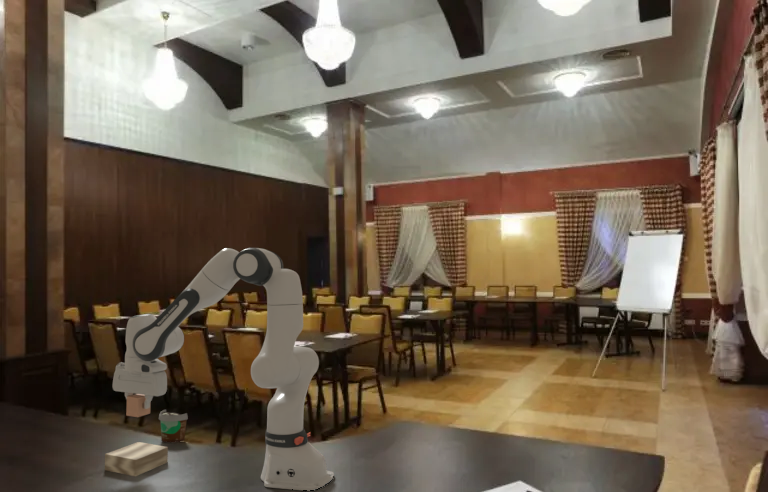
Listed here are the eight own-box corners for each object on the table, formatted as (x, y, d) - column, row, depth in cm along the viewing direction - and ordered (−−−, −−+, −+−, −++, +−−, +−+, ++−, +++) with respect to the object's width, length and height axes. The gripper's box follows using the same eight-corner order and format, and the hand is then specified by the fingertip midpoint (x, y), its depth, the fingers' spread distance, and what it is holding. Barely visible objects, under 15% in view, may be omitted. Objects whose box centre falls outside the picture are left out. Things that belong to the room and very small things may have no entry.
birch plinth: (167, 462, 176) (167, 447, 176) (135, 476, 164) (135, 459, 164) (137, 456, 180) (138, 441, 181) (104, 470, 168) (105, 453, 169)
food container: (150, 440, 198) (151, 413, 199) (164, 435, 204) (165, 409, 204) (173, 445, 192) (174, 417, 193) (187, 440, 198) (188, 413, 198)
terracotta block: (150, 413, 174) (150, 394, 174) (137, 417, 170) (138, 398, 170) (138, 411, 176) (139, 393, 176) (126, 415, 171) (126, 396, 172)
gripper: (108, 363, 175) (106, 406, 174) (155, 368, 167) (154, 413, 166) (124, 360, 180) (123, 401, 180) (170, 364, 173) (169, 408, 172)
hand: (138, 407), depth 173 cm, fingers closed on terracotta block, 5 cm apart
